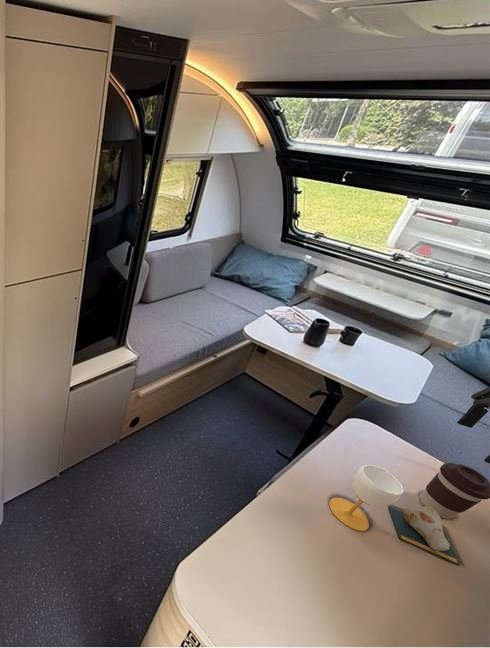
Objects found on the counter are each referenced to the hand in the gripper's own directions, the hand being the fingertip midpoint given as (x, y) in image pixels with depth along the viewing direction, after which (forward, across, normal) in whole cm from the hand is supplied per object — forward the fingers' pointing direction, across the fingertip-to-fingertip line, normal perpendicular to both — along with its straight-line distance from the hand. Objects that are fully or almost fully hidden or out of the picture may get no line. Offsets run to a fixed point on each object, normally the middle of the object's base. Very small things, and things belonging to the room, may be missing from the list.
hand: (477, 443), depth 91 cm
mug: (+24, +13, -3) cm, 28 cm away
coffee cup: (+25, 0, +4) cm, 25 cm away
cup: (+25, +17, -20) cm, 36 cm away
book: (+25, +13, -3) cm, 28 cm away
